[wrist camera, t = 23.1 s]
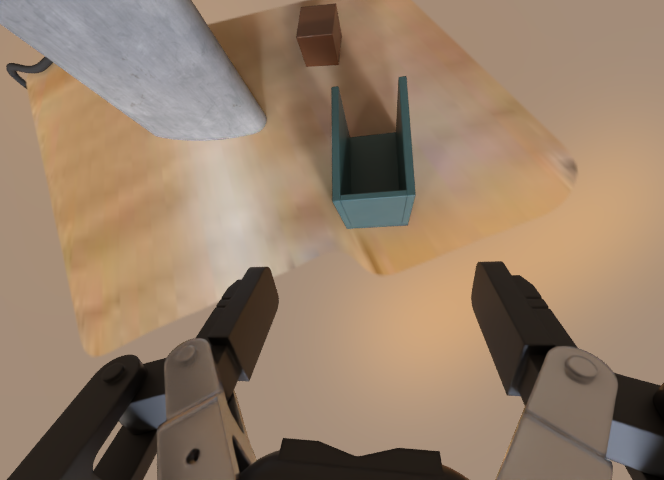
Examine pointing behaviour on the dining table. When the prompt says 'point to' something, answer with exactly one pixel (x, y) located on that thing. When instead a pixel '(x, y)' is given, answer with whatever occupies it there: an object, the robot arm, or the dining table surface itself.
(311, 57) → the walnut block
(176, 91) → the hip flask
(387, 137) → the teal open box
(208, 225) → the dining table surface
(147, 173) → the dining table surface
